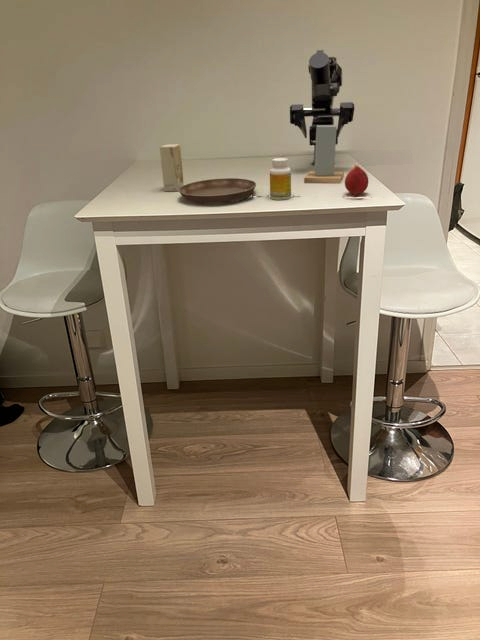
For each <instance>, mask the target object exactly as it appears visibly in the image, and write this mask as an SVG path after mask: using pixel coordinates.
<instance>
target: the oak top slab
mask: <svg viewBox="0 0 480 640" xmlns="http://www.w3.org/2000/svg"><path fill="white" fill-rule="evenodd" d="M314 172H315V170H313V171H312V170H311V171H309V172H308V173H307V174H306V175H305V177H304V178H303V179H304V180H303V183H304V184H335V185H336V184H338V185H339V184H341V182H342V181H343V179H344V178H345V171H343V170H342V171H340V170H339V171H338V170H337V171H335V170H334V176H316V175H315V173H314Z"/></svg>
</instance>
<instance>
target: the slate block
mask: <svg viewBox="0 0 480 640" xmlns="http://www.w3.org/2000/svg"><path fill="white" fill-rule="evenodd" d="M337 128H338V126H336V125H335V124H334V125H317V126H316V141H315V142H316V149H315V165H314V171H315V172H314V173H315V175H316V176H334V171H335V163H336V162H335V159H336V129H337Z"/></svg>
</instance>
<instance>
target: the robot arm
mask: <svg viewBox="0 0 480 640" xmlns="http://www.w3.org/2000/svg"><path fill="white" fill-rule="evenodd" d="M308 73H309V76H310V79H311V108H304V104H303V103H301V104H299V103H297V104H291V105H290V106H289V123H290V125H294V126H295V127H298V128H299V130H300V131H301V133H302V135H303V137H304V139H307V137H308V134H309V137H308V138H309V146H314V147H313V149H314V151H313V161H312V163H311V165H312V166H315V149H316V126H317V125H335V119H334V117H338V122H337V129H336V145H338V143H339V142H338V141H339V138H340V137H339V136H340V134H341V132H342V130H343V128H344V127H345V125H348V124H349V123H351V122H352V121H354V120H353V119H354V115H355V114H354V113H355V104H354V102H351V101H350V102H349V101H348V102H340V103H339V108H337V107H336V108H334V107H333V106H334V105H333V104H334V100H335V97H337V96H338V94H339V93H340V88H341V87H342V86H343V69H342V67H341V66H340V64H338V61H337V57H336V56H328V54H326V53H324V50H323V49H322V50H321V49H319V50H318V49H317V50H316V53H314V54H312V55H311V56H310V58H309V60H308ZM306 117H312V122H311V126H310V125H309V129H308V130H309V133H308V132H307V131H308V130H307V125H306V124H307V123H306ZM307 133H308V134H307Z"/></svg>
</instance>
